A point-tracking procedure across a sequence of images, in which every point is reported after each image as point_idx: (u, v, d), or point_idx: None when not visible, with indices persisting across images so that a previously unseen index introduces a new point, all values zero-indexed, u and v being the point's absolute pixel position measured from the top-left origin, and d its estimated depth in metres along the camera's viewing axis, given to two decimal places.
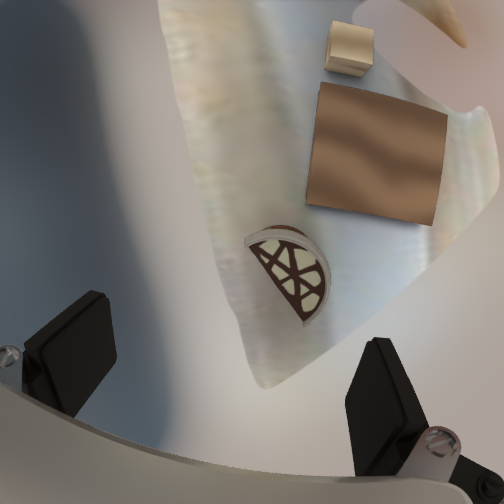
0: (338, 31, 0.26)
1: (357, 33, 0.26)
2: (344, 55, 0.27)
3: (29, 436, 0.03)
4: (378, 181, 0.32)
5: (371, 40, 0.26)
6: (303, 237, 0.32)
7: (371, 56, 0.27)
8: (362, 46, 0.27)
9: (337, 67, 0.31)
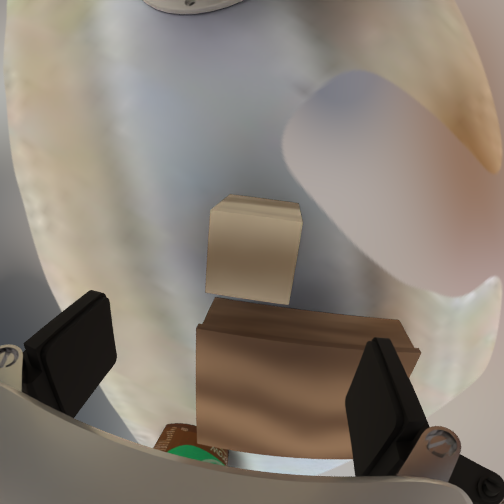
0: (221, 236, 0.17)
1: (262, 237, 0.16)
2: (232, 291, 0.18)
3: (29, 436, 0.03)
4: (287, 434, 0.23)
5: (292, 251, 0.16)
6: None
7: (287, 288, 0.17)
8: (271, 267, 0.17)
9: None
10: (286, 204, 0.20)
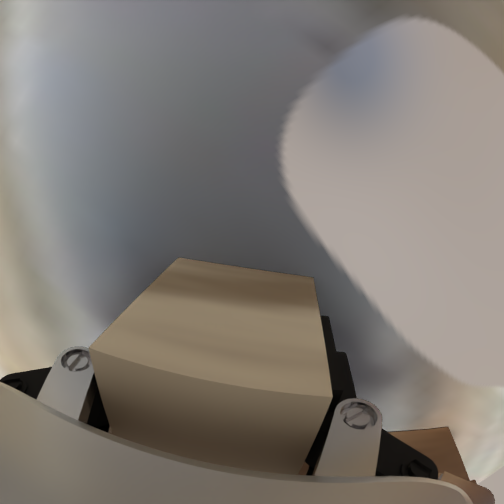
0: (126, 403, 0.06)
1: (223, 421, 0.06)
2: None
3: (29, 436, 0.03)
4: None
5: (298, 445, 0.06)
6: None
7: None
8: (246, 463, 0.06)
9: None
10: (289, 289, 0.10)
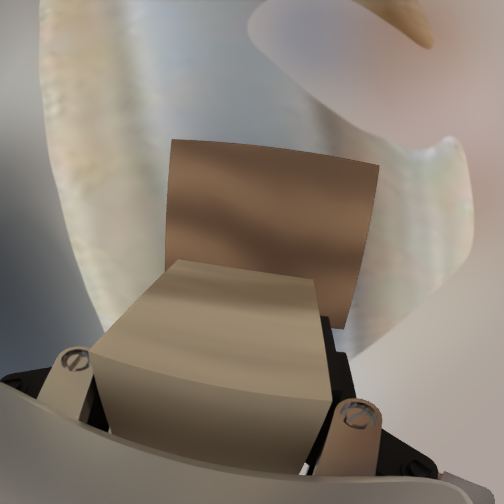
0: (126, 406, 0.06)
1: (222, 424, 0.06)
2: None
3: (29, 436, 0.03)
4: None
5: (298, 448, 0.06)
6: None
7: None
8: (246, 465, 0.06)
9: None
10: (289, 291, 0.10)
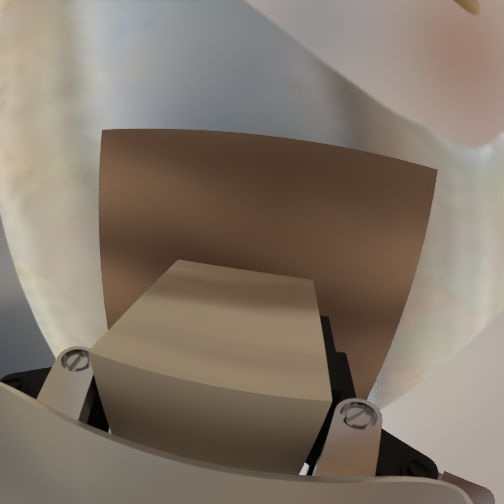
0: (125, 406, 0.06)
1: (222, 424, 0.06)
2: None
3: (29, 436, 0.03)
4: None
5: (298, 449, 0.06)
6: None
7: None
8: (246, 465, 0.06)
9: None
10: (289, 291, 0.10)
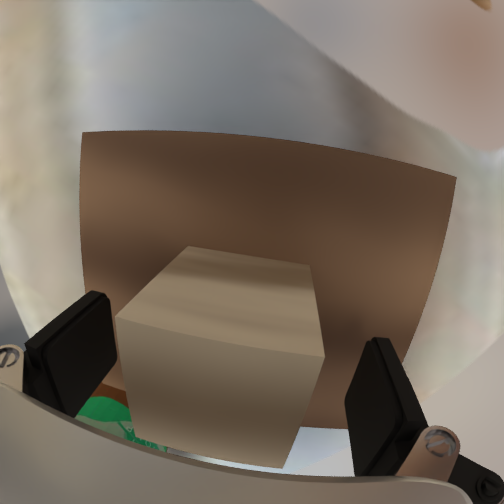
0: (144, 368, 0.07)
1: (230, 381, 0.07)
2: (179, 444, 0.08)
3: (29, 436, 0.03)
4: None
5: (296, 406, 0.07)
6: None
7: (282, 452, 0.08)
8: (250, 425, 0.07)
9: None
10: (288, 273, 0.11)
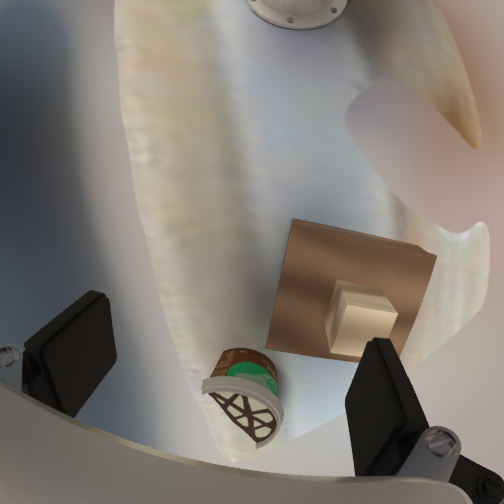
0: (349, 320, 0.25)
1: (374, 321, 0.25)
2: (347, 351, 0.26)
3: (29, 436, 0.03)
4: None
5: (388, 329, 0.25)
6: (257, 386, 0.31)
7: None
8: None
9: None
10: (376, 291, 0.29)
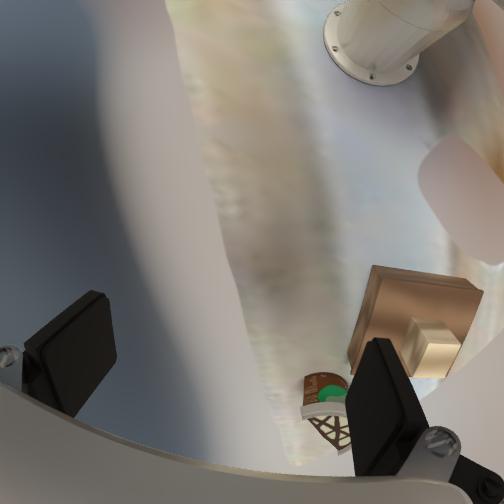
0: (429, 353, 0.28)
1: (445, 352, 0.28)
2: (424, 375, 0.29)
3: (29, 436, 0.03)
4: None
5: (453, 356, 0.28)
6: None
7: (446, 371, 0.29)
8: (443, 363, 0.28)
9: None
10: (441, 324, 0.32)
